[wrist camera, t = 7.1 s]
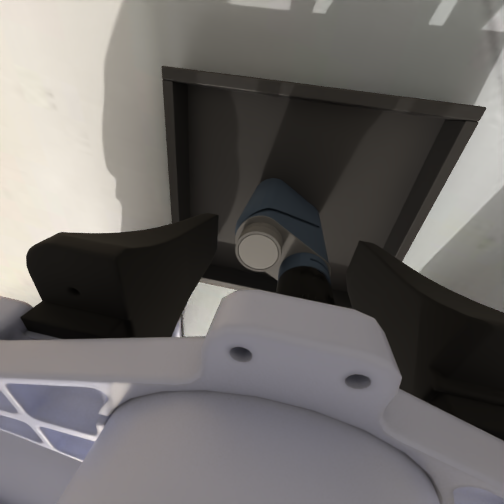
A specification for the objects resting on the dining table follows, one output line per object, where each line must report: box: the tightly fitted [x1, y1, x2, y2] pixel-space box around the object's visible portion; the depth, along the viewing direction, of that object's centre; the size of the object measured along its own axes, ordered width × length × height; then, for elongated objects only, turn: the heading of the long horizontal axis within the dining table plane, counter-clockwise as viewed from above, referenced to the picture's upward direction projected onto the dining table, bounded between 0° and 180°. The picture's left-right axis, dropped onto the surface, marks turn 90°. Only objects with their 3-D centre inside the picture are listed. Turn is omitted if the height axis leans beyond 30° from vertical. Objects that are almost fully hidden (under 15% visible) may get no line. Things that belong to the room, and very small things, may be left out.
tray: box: [162, 66, 486, 309], centre depth 16 cm, size 14×16×2 cm
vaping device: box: [235, 178, 335, 305], centre depth 12 cm, size 3×5×12 cm, turn 53°
